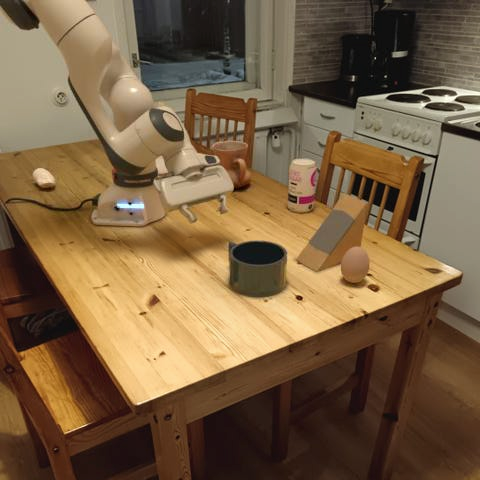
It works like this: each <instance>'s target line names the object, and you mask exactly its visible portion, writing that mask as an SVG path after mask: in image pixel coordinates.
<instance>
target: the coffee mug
mask: <svg viewBox="0 0 480 480" xmlns="http://www.w3.org/2000/svg"><path fill="white" fill-rule="evenodd" d="M228 263H229V264H228V265H229V285H230V287H231V289H232V290H234V292H236V293H239V294H240V295H243V296H246V297H251V298H252V297H253V298H264V297H270V296H274V295H277V294H279V293H280V292H282V291H283V290H284V289H285V287H286V282H287V281H286V280H287V265H288V251H287V249H286V248H285V247H284V246H283V245H281V244H279V243H276V242H272V241H269V240H247V241H243V242H239V243H236V242H234V241H232V240H231V241H229V242H228Z"/></svg>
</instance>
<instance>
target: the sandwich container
mask: <svg viewBox="0 0 480 480" xmlns="http://www.w3.org/2000/svg"><path fill="white" fill-rule="evenodd" d="M367 211H368V203H367V202H366V201H364V200H362V199H359V198H358V197H355V196H352V195H350V194H347V193H345V192H343V193H342V194H341V196H340V197H339V199H338V201H337V202H336V203H335V205H334V206H333V208H332V209H331V210H330V212H329V214H328V215H327V216H326V218H325V219H324V220H323V222H322V223H321V224H320V226H319V227H318V228H317V229H316V232H315V233H314V234H313V236H312V237H311V238H310V239H309V241H308V242H307V243H306V244H305V246H304V248H303V249H302V251H300V253H299V254H298V256H297V257H296V258H295V260H296V261H297V262H299V263H300V264H302V265H304V266H305V267H307V268H309V269H311V270H313V271H315V272H320V271H322V270H326V269H328V268H333V267H335V266H337V265H341V262H342V259H343V257H344V255H345V253H346V252H347V251H348V250H349V249H351V248H352V247H356V246H357V247H361V248H362V242H363V234H364V230H365V229H364V228H365V222H366V216H367Z"/></svg>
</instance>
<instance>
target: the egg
mask: <svg viewBox="0 0 480 480" xmlns="http://www.w3.org/2000/svg"><path fill="white" fill-rule="evenodd" d="M369 270H370V258H369V255H368V253H367V251H366V250H365V249H364V248H362V246H361V247H357V246H356V247H352V248H351V249H349V250H348V251H347V252H346V253H345V255H344V257H343V259H342V262H341V263H340V272H341V275H342V277H343V278H344V279H345V280H346V281H347V282H348V283H352V284H356V283H360V282H362V281H363V280H364V279H365V278H366V277H367V276H368V275H369V274H368V273H369Z"/></svg>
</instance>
